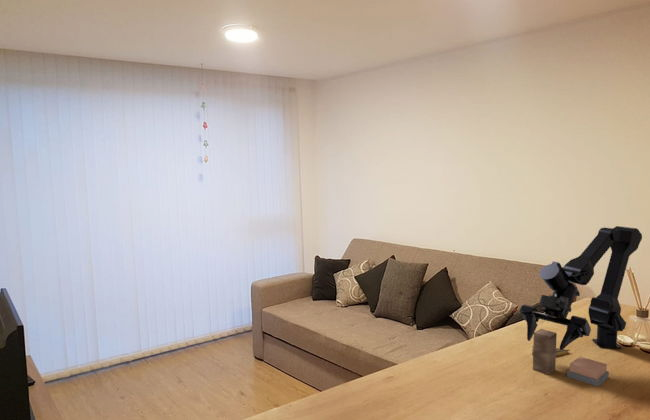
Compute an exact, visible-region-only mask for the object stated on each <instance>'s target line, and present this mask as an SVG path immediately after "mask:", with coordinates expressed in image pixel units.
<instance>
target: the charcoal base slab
mask: <svg viewBox="0 0 650 420" xmlns="http://www.w3.org/2000/svg"><path fill="white" fill-rule="evenodd" d="M609 375H610V371H608V370H607V372H606V373H604V374H603V375H602V376H601V377H600V378H598V379H597V380H596V379H593V378H590V377H587V376H584V375H580V374H577V373H574V372H571V371H570V368H569V369H568V370H567V371H566V378H569V379H572V380H576V381H578V382H582V383H586V384H588V385H590V386H595V387H600V386H601V385H602V384H603V383H604V382H605V381H607V379H608V378H609Z"/></svg>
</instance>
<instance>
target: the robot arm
mask: <svg viewBox="0 0 650 420" xmlns="http://www.w3.org/2000/svg"><path fill="white" fill-rule="evenodd" d="M642 240H643V234H642V232H641V231H640V230H639V229H638V228H634V227H629V226H628V227H627V226H618V225H617V226H614V227H613V228H611V227H600V228H599V230H598V232H597V235H596V236H595V237H594V238H593V239H592V240H591V242H590V243H589V244H588V245H587V246H586V248H585V249H584V250H583V251H582V253H580V255H579V256H577V257H575V258H571V259H570V260H569V261H568V262H567V263H565V264H564V265H563V266H562V264H561V263H560V262H558V261H552V263H550V264H547V265H544V266H543V267H541V268H540V270H539V272H538V273H539V277H540V278H541V279H542V281H543V282H544V283H545V284H546V286H547V288H549V289H550V290H552V291H553V292H552V293H551V295H544V294H541V295H540V300H539V304H538V305H539V306H540V307H542V312H540V311H538V309H537V307H536V306H532V305H528V304H522V305H521V306H520V308H519V310H518V311H519V313H520V315H521V316H522V318H523V320H524V321H525V322H526V325H527V326H526V330H527V331H526V333H527V334H526V336H527V338H526V339H527V341H528V342H530V341H531V339H532V338H533V337H534V332H536V331H537V330H536V329H537V327H538V322H539V321H540V320H541V321H546V322H550V323H555V324H559V325H563V326H565V327H566V331H565V334H564V336H563V338H562V340H561V342H560V346H559V349H560V350H563V349H565V348H567V347H568V346H569V345H570V344H572V343H573V342H574V341H576V340H578V339H579V338H584V337H589V336H590V334H591V331H592V329H591V325H596V338H592V342H594V344H596V345H597V346H598V348H601V349H602V348H603V349H622V346H621V345H620V344H619V343H618V332H623V331H624V330H625V329H626V326H627V322H626V321H625V319H624V318H623V316H622V315H621V311H622V310H621V309H622V307H621V304H620V302H619V295H620V292H621V289H622V288H621V287H622V285H623V281H624V277H625V273H626V270H627V266H628V262H629V260H630V256H631V255H633V254H634V252H636V251H637V250H638V248H639V246H640V243H641V242H642ZM609 249H610V250H611V254H610V258H609V262H608V265H607V268H606V273H605V276H604V279H603V284H602V288H601V291H600V293H599V294H598V295H597V296H596V297H595V296H593V297H592V298H591V300H590V303H589V306H588V309H587V310H588V312H587V313H588V316H589V321H588V320H587V318H586V317H581V316H578V315H577V316H576V315H572V316H571V317H570V318H567V317H568V315H569V313H571V312H572V310H573V309H572V305H573V302H574V299H575V297H579V296H580V291H579V289H578V287H577V286H576V285H581V286H586V285H588V284H589V283H590V281H591V280H592V278H593V276H594V275H595V267H596V265H597V264H598V263H599V262H600V260H601V259H602V257H603V256H605V254H606V253H607V252H608V250H609ZM575 284H576V285H575ZM590 324H591V325H590Z"/></svg>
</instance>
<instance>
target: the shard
mask: <svg viewBox="0 0 650 420" xmlns="http://www.w3.org/2000/svg"><path fill="white" fill-rule="evenodd" d="M531 348H532V349H531V355H533V345H532V347H531ZM570 351H571V349H567V348H566V349H565V348H564V349H563V350H560V347H559V348H557V347H556V357H558V356H562V355H566V354H568V353H569V352H570Z"/></svg>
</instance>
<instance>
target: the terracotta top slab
mask: <svg viewBox="0 0 650 420" xmlns="http://www.w3.org/2000/svg"><path fill="white" fill-rule="evenodd" d="M607 367H608V364H607V363H606V362H601V361H598V360H594V359H590V358H586V357H583V356H579V357H577V358H576V359H575V360H573V361H572V362H570V363H569V369H570V371H571V372H574V373H577V374H580V375H584V376H587V377H590V378H593V379H596V380H597V379H598V378H600V377H601V376H602V375H603V374H604V373H606V372H607V371H608V368H607Z"/></svg>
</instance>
